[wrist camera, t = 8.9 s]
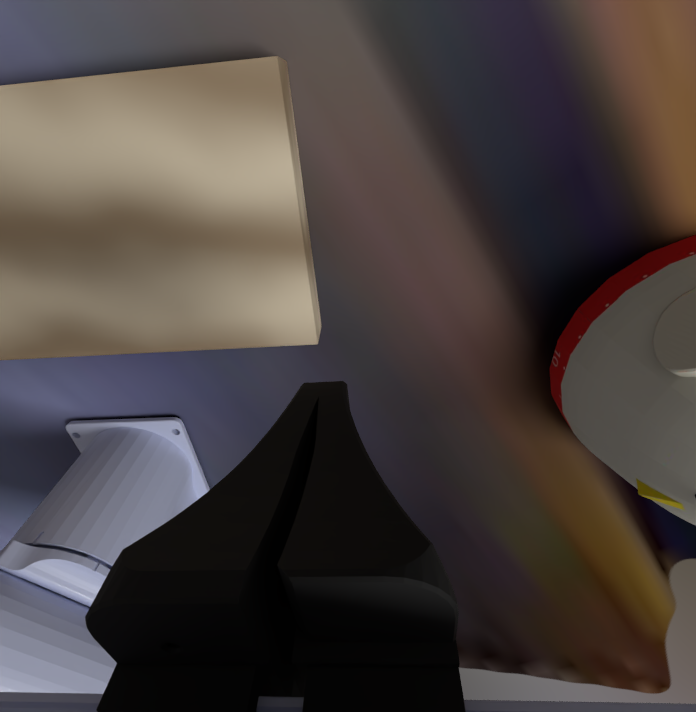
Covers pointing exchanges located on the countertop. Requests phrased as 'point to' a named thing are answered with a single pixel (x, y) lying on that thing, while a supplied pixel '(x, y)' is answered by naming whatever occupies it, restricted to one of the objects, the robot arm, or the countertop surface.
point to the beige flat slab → (153, 213)
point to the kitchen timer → (637, 375)
